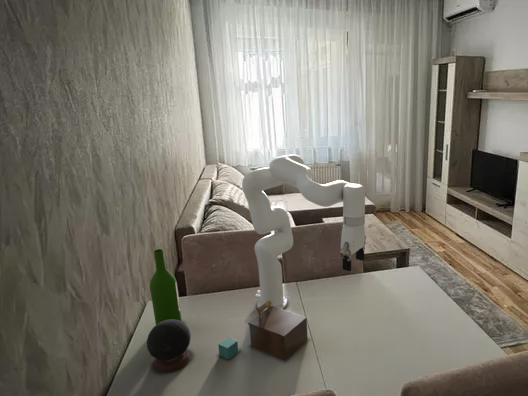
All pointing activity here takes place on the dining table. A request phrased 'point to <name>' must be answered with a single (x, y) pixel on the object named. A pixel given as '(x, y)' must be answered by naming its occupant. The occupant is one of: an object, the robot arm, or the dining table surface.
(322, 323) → the dining table surface
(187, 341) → the ball on stand
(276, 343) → the chest
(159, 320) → the wine bottle
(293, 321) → the chest lid
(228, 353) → the block
